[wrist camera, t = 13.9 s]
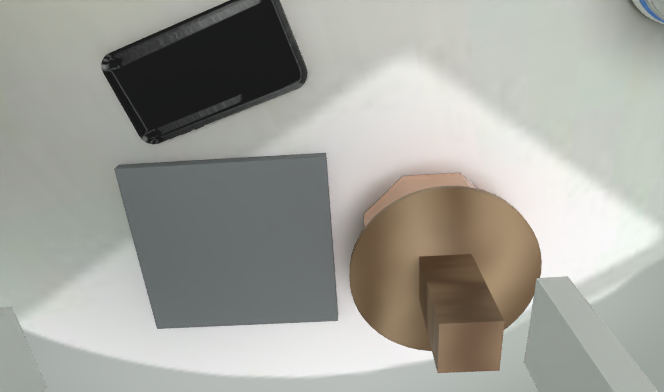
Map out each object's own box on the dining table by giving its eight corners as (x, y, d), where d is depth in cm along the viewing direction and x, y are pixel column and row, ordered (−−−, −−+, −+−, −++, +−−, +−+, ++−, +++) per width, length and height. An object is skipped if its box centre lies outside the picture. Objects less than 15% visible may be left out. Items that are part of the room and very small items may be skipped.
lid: (353, 348, 42) (357, 435, 34) (344, 191, 36) (345, 251, 28) (527, 340, 41) (573, 427, 33) (548, 180, 35) (610, 238, 27)
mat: (160, 322, 48) (157, 328, 47) (119, 165, 41) (114, 169, 41) (337, 314, 48) (337, 320, 47) (325, 152, 41) (325, 156, 40)
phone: (95, 59, 37) (270, -18, 35) (102, 57, 38) (272, -18, 36) (146, 149, 40) (311, 84, 38) (151, 145, 41) (312, 81, 39)
